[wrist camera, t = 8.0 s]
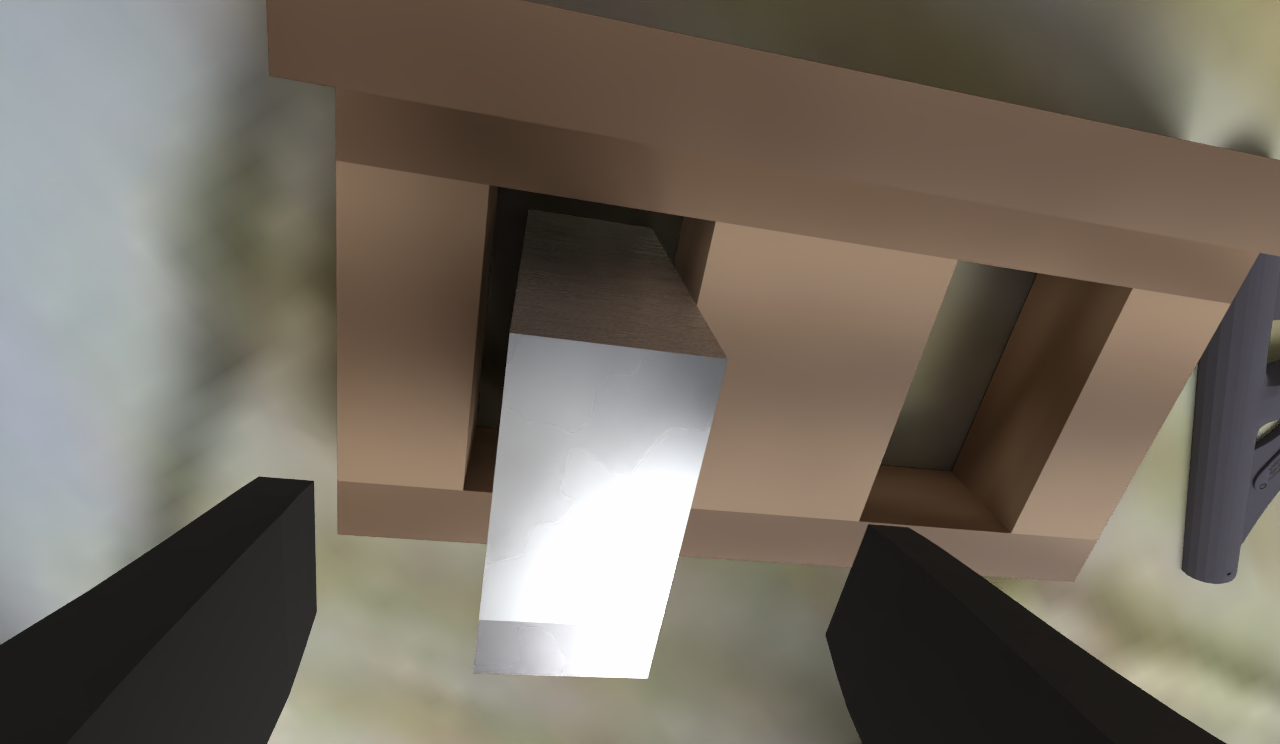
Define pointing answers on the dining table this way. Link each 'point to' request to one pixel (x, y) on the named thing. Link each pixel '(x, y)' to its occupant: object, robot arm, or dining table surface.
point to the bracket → (1234, 429)
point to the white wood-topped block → (593, 451)
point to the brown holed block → (767, 271)
